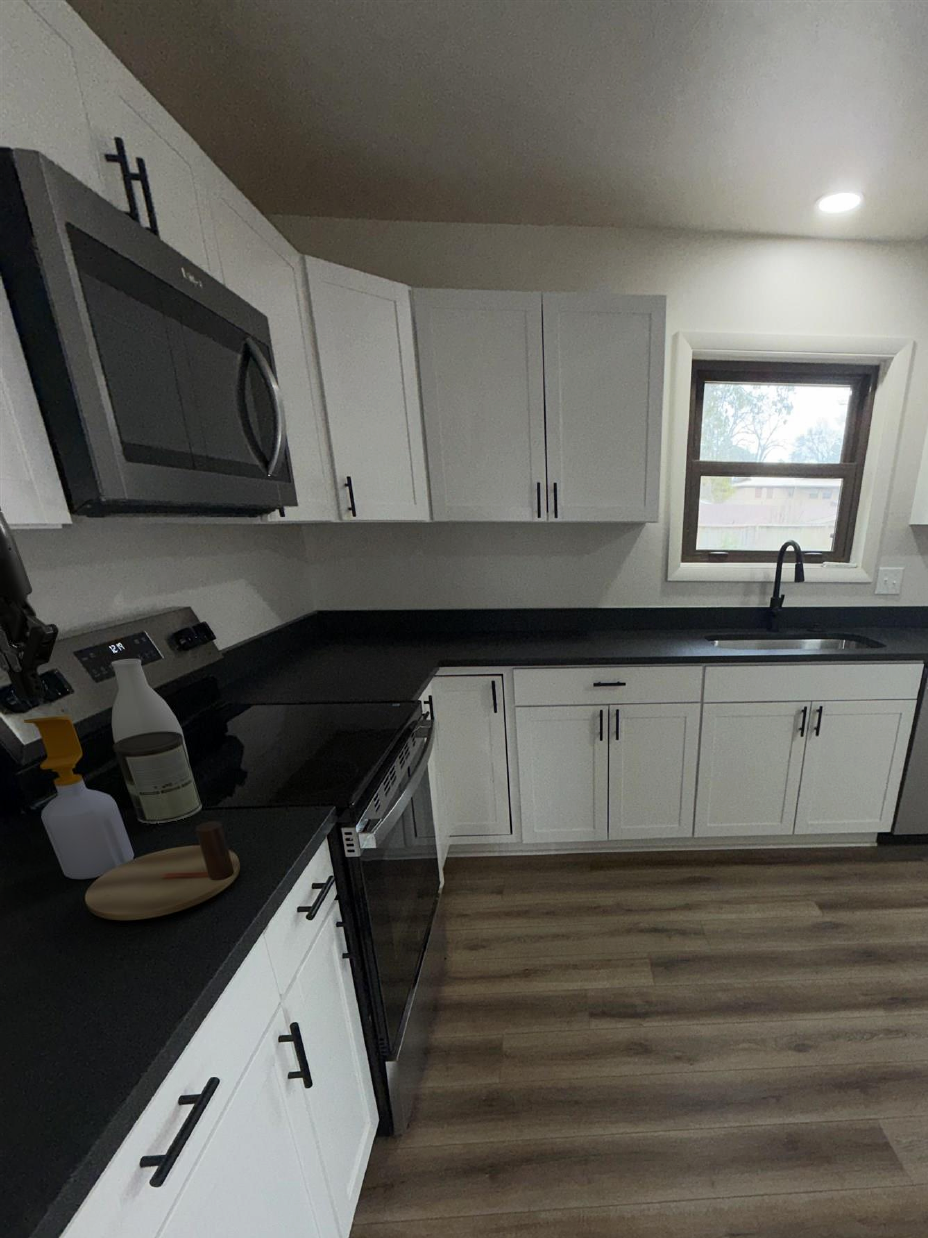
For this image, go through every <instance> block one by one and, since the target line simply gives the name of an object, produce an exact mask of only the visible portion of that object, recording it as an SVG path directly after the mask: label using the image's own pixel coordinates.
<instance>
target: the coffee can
mask: <svg viewBox="0 0 928 1238" xmlns="http://www.w3.org/2000/svg"><path fill="white" fill-rule="evenodd" d="M183 736H184V735H183ZM183 736H182V735H181V734H180V733H177V732H171V731H160V732H150V733H144V734H138V735H134V736H131V737H127V738H124V739H122V740H120V741H118V742H116V743H115V742H114V744H112V749H113V752H114V753H115V755H116V758H117V762H118V764H119V767H120V770H121V773H122V777H123V779H124V782H125V785H126V787H127V790H128V794H129V797H130V800H131V803H132V805H133V808H134V812H135V814H136V819H138V820H137V821H138V822H139V821H140V822H142V823H141V824H143V823H147V824H146V825H149V824H148V823H150V824H156V823H158V824H159V823H166V822H171V821H176V822H178V821H177V820H180V819H183V820H185V819H184V818H186V819H188V818H191V817H192V816H194V815H196V814H197V813H199V812H200V811H201V810H202V807H203V804H202V802H201V799H200V796H199V793H198V788H197V785H196V782H195V778H194V775H193V771H192V768H191V764H190V761H188V760H189V756H188V757H187V754H188V753H187V754H186V750H185V747H184V743H183ZM187 817H188V818H187ZM180 821H181V820H180ZM140 822H139V823H140ZM159 825H160V824H159Z"/></svg>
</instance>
